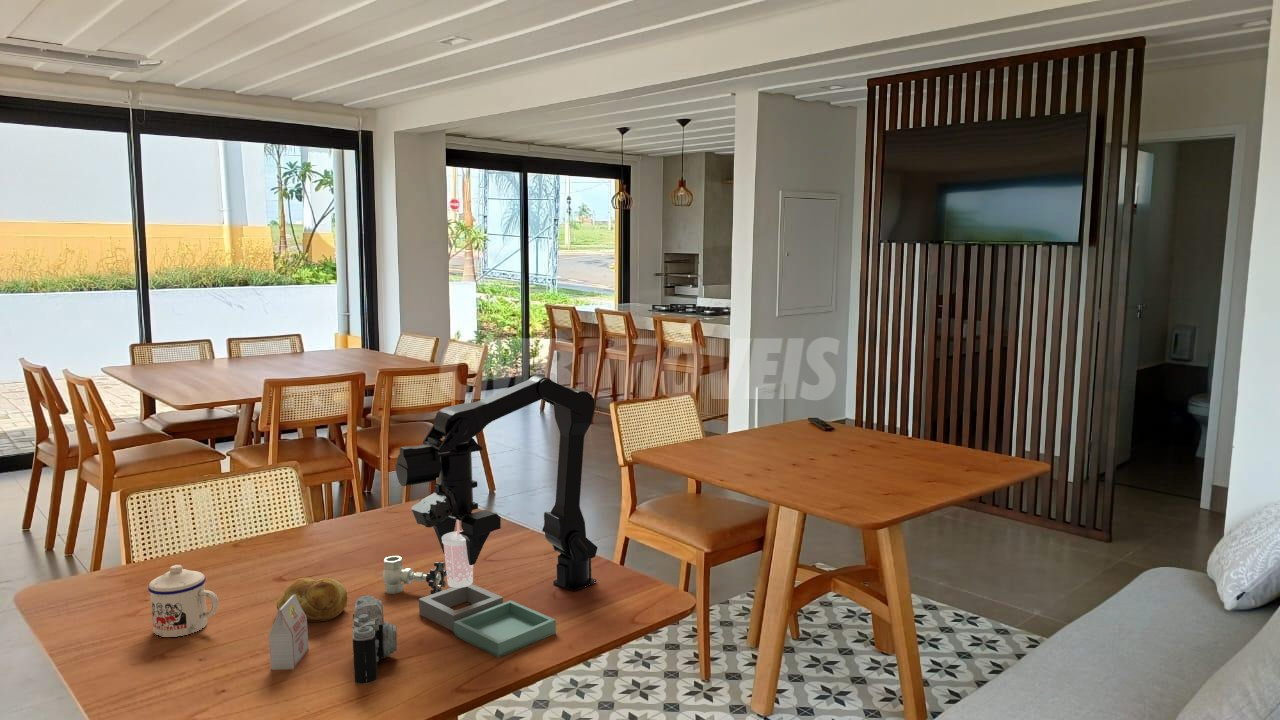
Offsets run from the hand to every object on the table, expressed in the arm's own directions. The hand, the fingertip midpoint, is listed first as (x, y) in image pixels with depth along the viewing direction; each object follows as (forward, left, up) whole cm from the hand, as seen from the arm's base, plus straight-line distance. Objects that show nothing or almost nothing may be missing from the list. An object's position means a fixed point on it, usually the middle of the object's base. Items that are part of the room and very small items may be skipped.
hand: (459, 559), depth 163 cm
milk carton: (+30, -6, -11) cm, 32 cm away
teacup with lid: (+37, -31, -11) cm, 49 cm away
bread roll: (+19, -20, -11) cm, 30 cm away
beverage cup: (0, 0, -5) cm, 5 cm away
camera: (+21, +5, -11) cm, 24 cm away
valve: (0, -16, -11) cm, 19 cm away
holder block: (0, 0, -10) cm, 10 cm away
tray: (0, +13, -10) cm, 17 cm away
